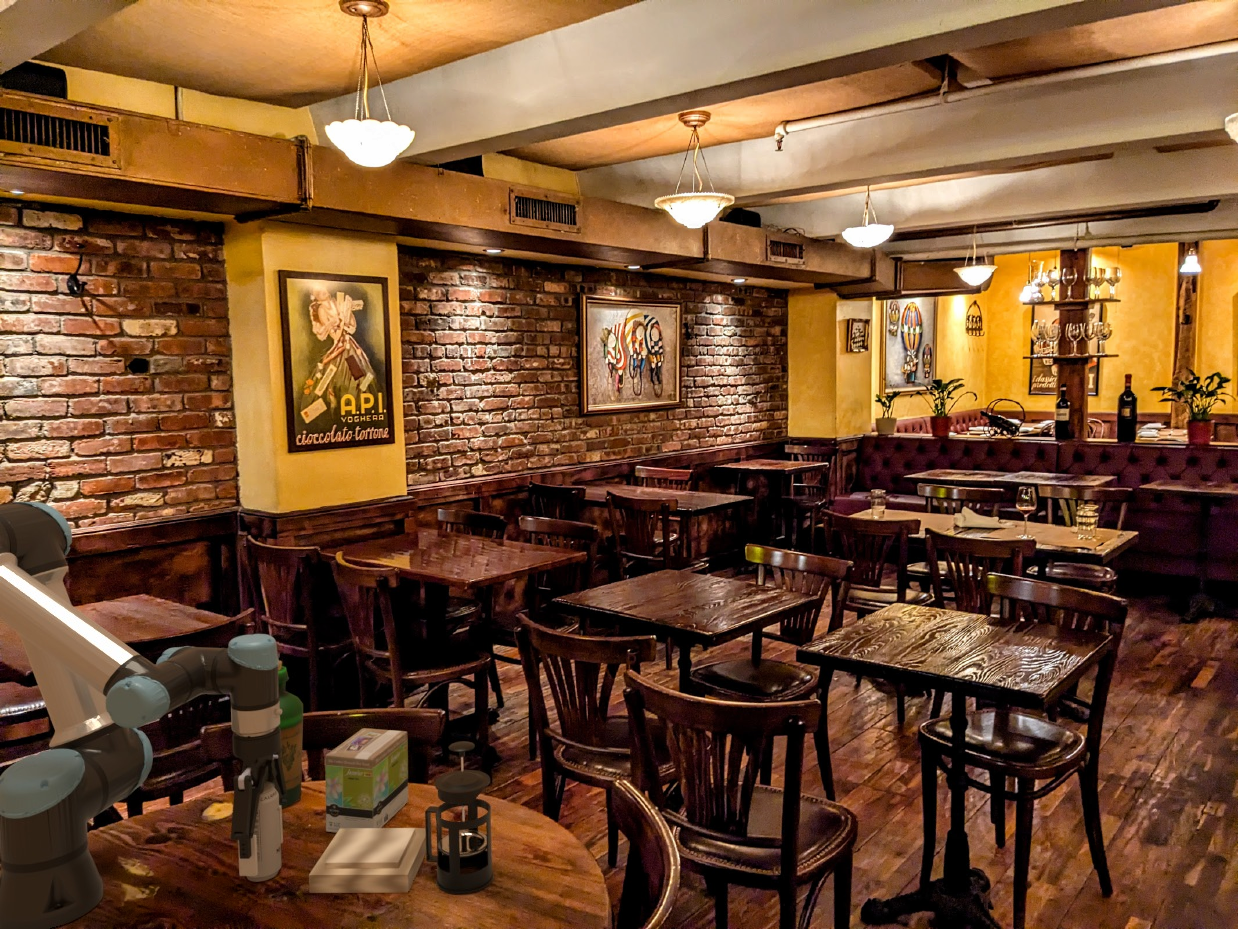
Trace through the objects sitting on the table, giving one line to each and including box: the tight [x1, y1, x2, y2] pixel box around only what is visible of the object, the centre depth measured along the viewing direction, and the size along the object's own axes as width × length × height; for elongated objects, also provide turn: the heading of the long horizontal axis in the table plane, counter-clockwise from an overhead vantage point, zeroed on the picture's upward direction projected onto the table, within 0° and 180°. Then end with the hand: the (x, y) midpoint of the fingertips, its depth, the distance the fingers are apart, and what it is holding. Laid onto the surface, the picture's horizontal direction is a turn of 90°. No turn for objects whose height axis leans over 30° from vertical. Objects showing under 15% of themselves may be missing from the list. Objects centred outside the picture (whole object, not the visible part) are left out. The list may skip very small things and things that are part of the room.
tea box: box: [324, 727, 409, 834], centre depth 176 cm, size 15×10×15 cm, turn 168°
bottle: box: [278, 660, 304, 809], centre depth 183 cm, size 11×11×28 cm
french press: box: [424, 740, 495, 896], centre depth 152 cm, size 12×9×23 cm
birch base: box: [308, 827, 426, 894], centre depth 157 cm, size 16×16×4 cm
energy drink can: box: [246, 782, 282, 883], centre depth 155 cm, size 6×6×15 cm
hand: (262, 858), depth 155 cm, fingers open, 10 cm apart
